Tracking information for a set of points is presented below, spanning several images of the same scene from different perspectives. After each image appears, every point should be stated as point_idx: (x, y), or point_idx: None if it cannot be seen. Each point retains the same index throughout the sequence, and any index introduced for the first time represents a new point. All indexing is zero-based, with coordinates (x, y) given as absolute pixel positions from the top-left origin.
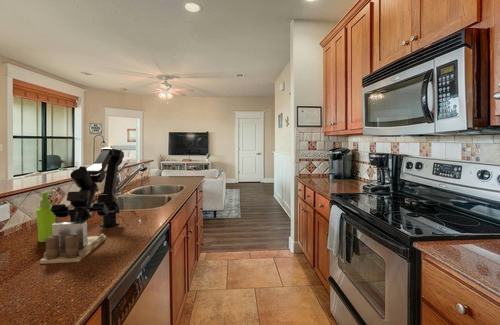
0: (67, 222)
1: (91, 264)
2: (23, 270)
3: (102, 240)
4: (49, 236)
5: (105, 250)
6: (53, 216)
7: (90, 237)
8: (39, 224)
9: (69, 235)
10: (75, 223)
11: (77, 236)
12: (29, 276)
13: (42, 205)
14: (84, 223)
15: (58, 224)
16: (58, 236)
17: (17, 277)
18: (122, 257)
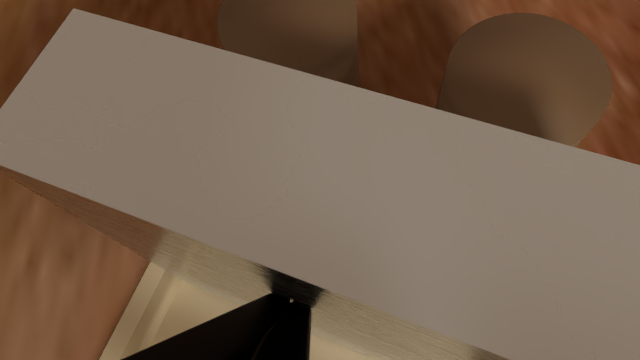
0: (359, 227)
1: (193, 26)
2: (627, 108)
3: None
4: (583, 127)
5: (66, 247)
6: None
7: None
8: None
9: (311, 57)
10: (187, 63)
11: (221, 19)
12: (535, 2)
13: None
14: (43, 84)
15: (534, 136)
16: (448, 76)
17: (608, 15)
18: (6, 53)
